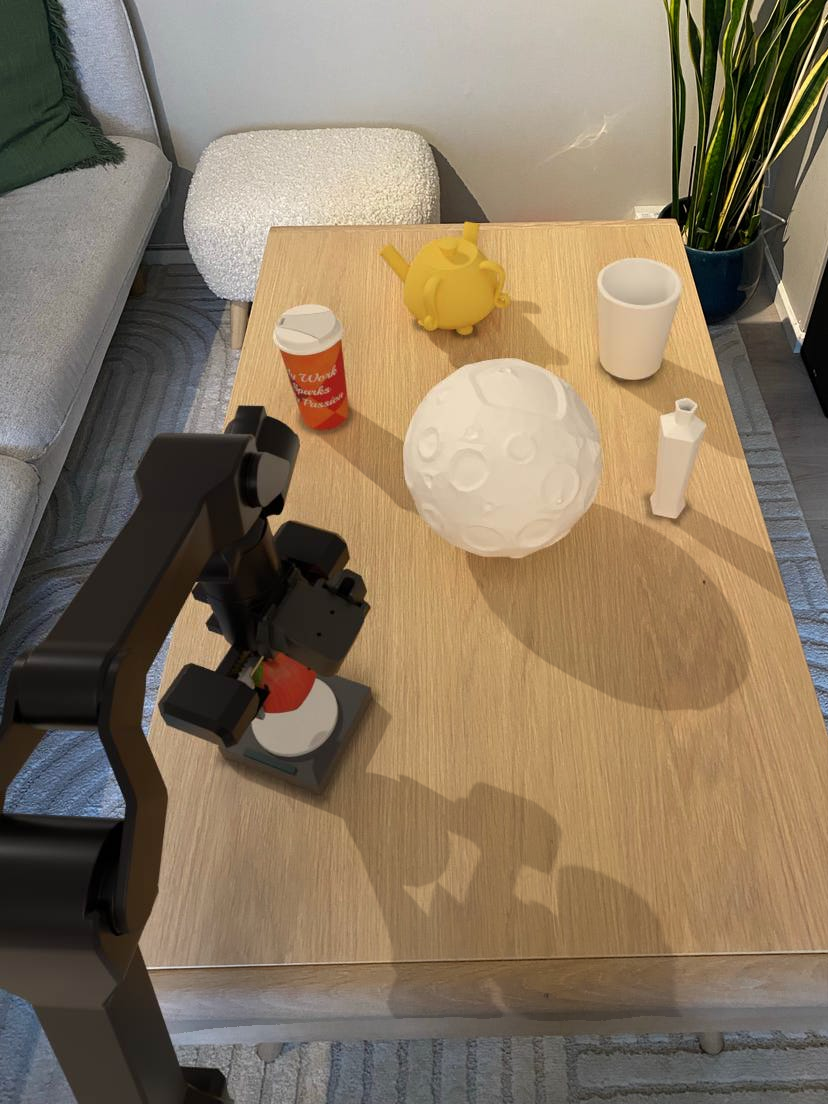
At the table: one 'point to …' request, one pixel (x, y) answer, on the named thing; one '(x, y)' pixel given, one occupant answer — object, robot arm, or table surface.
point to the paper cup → (314, 363)
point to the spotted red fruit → (283, 683)
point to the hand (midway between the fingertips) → (281, 679)
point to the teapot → (450, 282)
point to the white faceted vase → (676, 457)
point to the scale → (305, 735)
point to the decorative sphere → (502, 458)
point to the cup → (635, 315)
